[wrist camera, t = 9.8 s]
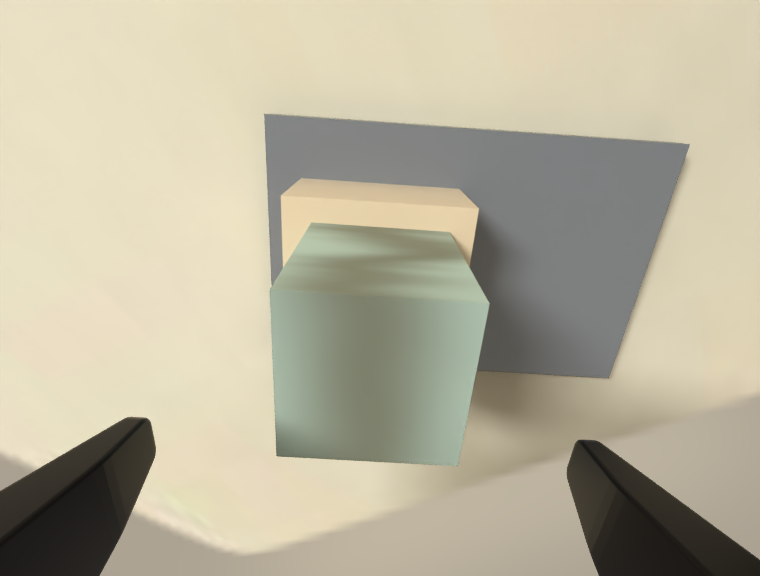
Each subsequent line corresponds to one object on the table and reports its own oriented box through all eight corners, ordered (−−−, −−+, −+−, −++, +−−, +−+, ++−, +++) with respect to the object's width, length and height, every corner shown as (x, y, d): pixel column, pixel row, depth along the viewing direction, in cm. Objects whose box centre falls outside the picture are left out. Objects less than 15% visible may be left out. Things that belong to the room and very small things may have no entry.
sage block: (449, 232, 15) (489, 303, 9) (432, 349, 17) (458, 466, 11) (311, 222, 15) (269, 289, 9) (311, 342, 17) (276, 456, 11)
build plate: (674, 142, 18) (772, 153, 14) (599, 367, 23) (653, 431, 19) (270, 113, 18) (232, 115, 13) (279, 348, 23) (253, 409, 18)
